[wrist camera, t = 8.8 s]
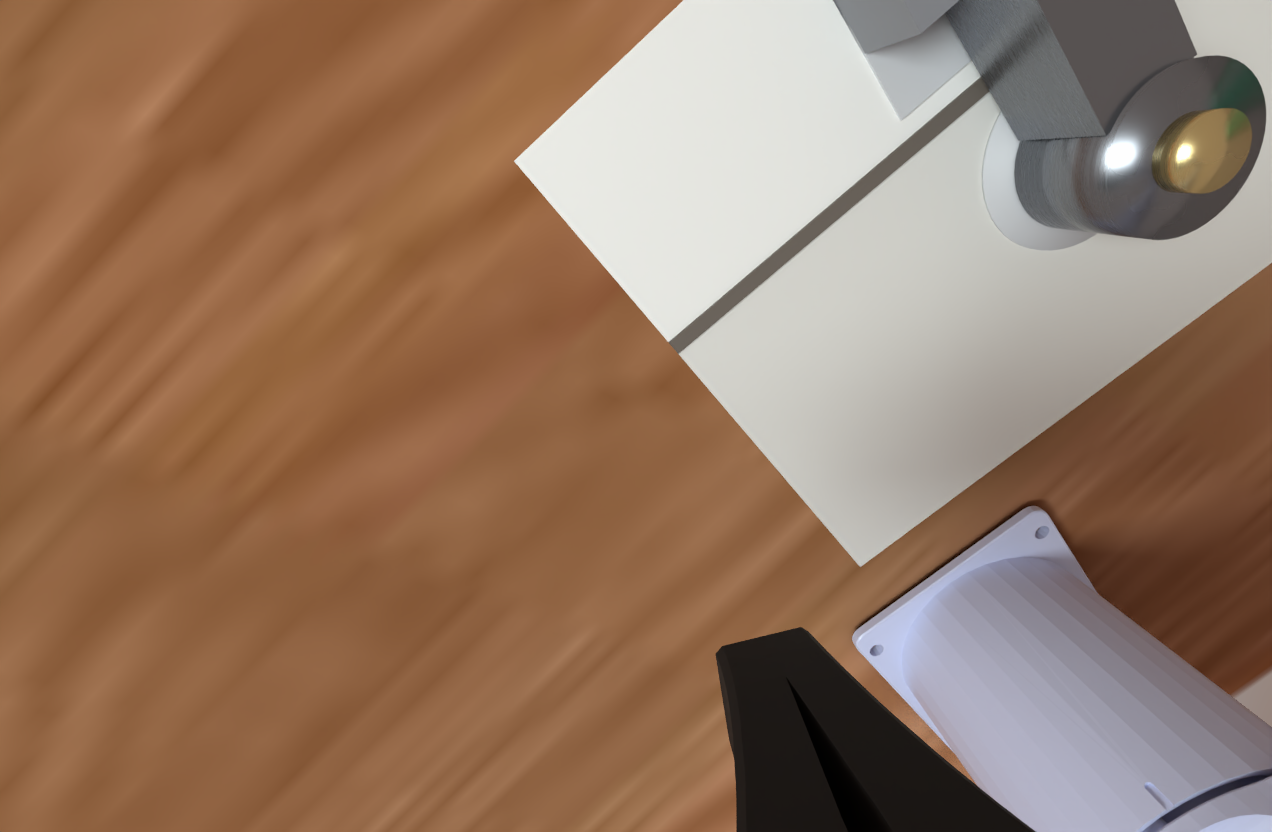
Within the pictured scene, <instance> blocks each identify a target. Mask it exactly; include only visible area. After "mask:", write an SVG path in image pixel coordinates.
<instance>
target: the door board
mask: <svg viewBox="0 0 1272 832" xmlns="http://www.w3.org/2000/svg"><path fill="white" fill-rule="evenodd" d="M958 1H959V0H683V1H682V2H681V3H680V4H679V5H678V6H677V7H676V8H675V9H674V10H673V11H672V12H671V13H670V14H669V15H668V16H667V17H666V18H664V19H663V20H662V21H661V22H660V23H659V24H658V25H657V26H656V27H655V28H654V29H653V30H652V31H651V32H650V33H649V34H648V35H647V36H645V37H644V38H643V39H642V40H641V41H640V42H639V43H638V44H637V45H636V46H635V47H634V48H633V49H632V50H631V51H630V52H629V53H628V54H627V55H625V56H624V57H623V58H622V59H621V60H620V61H619V62H618V63H617V64H616V65H615V66H614V67H613V68H612V69H611V70H610V71H609V72H608V73H606V74H605V75H604V76H603V77H602V78H601V79H600V80H599V81H598V82H597V83H596V84H595V85H594V86H593V87H592V88H591V89H590V90H589V91H587V92H586V93H585V94H584V95H583V96H582V97H581V98H580V99H579V100H578V101H577V102H576V103H575V104H574V105H573V106H572V107H571V108H570V109H569V110H567V111H566V112H565V113H564V114H563V115H562V116H561V117H560V118H559V119H558V120H557V121H556V122H555V123H554V124H553V125H552V126H551V127H550V128H548V129H547V130H546V131H545V132H544V133H543V134H542V135H541V136H540V137H539V138H538V139H537V140H536V141H535V142H534V143H533V144H532V145H531V146H529V147H528V148H527V149H526V150H525V151H524V152H523V153H522V154H521V155H520V156H519V157H518V158H517V159H516V160H515V161H514V162H515V163H516V164H517V165H518V166H519V167H520V169H521V170H522V171H523V172H524V173H525V174H526V176H527V177H528V178H529V179H530V180H531V181H532V183H533V184H534V185H535V186H536V187H537V188H538V190H539V191H540V192H541V193H542V194H543V196H544V197H545V198H546V199H547V200H548V201H549V203H550V204H551V205H552V206H553V207H554V208H555V210H556V211H557V212H558V213H559V214H560V215H561V217H562V218H563V219H564V220H565V221H566V222H567V224H568V225H569V226H570V227H571V228H572V230H573V231H574V232H575V233H576V234H577V235H578V237H579V238H580V239H581V240H582V241H583V242H584V244H585V245H586V246H587V247H588V248H589V249H590V251H591V252H592V253H593V254H594V255H595V257H596V258H597V259H598V260H599V261H600V262H601V264H602V265H603V266H604V267H605V268H606V269H607V271H608V272H609V273H610V274H611V275H612V276H613V278H614V279H615V280H616V281H617V282H618V283H619V285H620V286H621V287H622V288H623V289H624V291H625V292H626V293H627V294H628V295H629V296H630V298H631V299H632V300H633V301H634V302H635V303H636V305H637V306H638V307H639V308H640V309H641V310H642V312H643V313H644V314H645V315H646V316H647V317H648V319H649V320H650V321H651V322H652V323H653V325H654V326H655V327H656V328H657V329H658V330H659V332H660V333H661V334H662V335H663V336H664V337H665V339H666V340H667V341H668V342H669V343H670V345H671V346H672V347H673V348H674V349H675V350H676V352H677V353H678V354H679V355H680V356H681V357H682V359H683V360H684V361H685V362H686V363H687V364H688V366H689V367H690V368H691V369H692V370H693V371H694V373H695V374H696V375H697V376H698V377H699V378H700V380H701V381H702V382H703V383H704V384H705V386H706V387H707V388H708V389H709V390H710V391H711V393H712V394H713V395H714V396H715V397H716V398H717V400H718V401H719V402H720V403H721V404H722V405H723V407H724V408H725V409H726V410H727V411H728V412H729V414H730V415H731V416H732V417H733V418H734V420H735V421H736V422H737V423H738V424H739V425H740V427H741V428H742V429H743V430H744V431H745V432H746V434H747V435H748V436H749V437H750V438H751V439H752V441H753V442H754V443H755V444H756V445H757V447H758V448H759V449H760V450H761V451H762V452H763V454H764V455H765V456H766V457H767V458H768V459H769V461H770V462H771V463H772V464H773V465H774V466H775V468H776V469H777V470H778V471H779V472H780V473H781V475H782V476H783V477H784V478H785V479H786V481H787V482H788V483H789V484H790V485H791V486H792V488H793V489H794V490H795V491H796V492H797V493H798V495H799V496H800V497H801V498H802V499H803V500H804V502H805V503H806V504H807V505H808V506H809V507H810V509H811V510H812V511H813V512H814V513H815V515H816V516H817V517H818V518H819V519H820V520H821V522H822V523H823V524H824V525H825V526H826V527H827V529H828V530H829V531H830V532H831V533H832V534H833V536H834V537H835V538H836V539H837V540H838V542H839V543H840V544H841V545H842V546H843V547H844V549H845V550H846V551H847V552H848V553H849V554H850V556H851V557H852V558H853V559H854V560H855V561H856V563H857V564H858V565H859V566H860V567H861V566H862V565H864V564H865V563H866V562H868V561H869V560H870V559H872V558H873V557H874V556H876V555H877V554H879V553H880V552H881V551H883V550H884V549H885V548H887V547H888V546H889V545H891V544H892V543H893V542H895V541H896V540H897V539H899V538H900V537H901V536H903V535H904V534H906V533H907V532H908V531H910V530H911V529H912V528H914V527H915V526H916V525H918V524H919V523H920V522H922V521H923V520H924V519H926V518H927V517H929V516H930V515H931V514H933V513H934V512H935V511H937V510H938V509H939V508H941V507H942V506H943V505H945V504H946V503H947V502H949V501H950V500H952V499H953V498H954V497H956V496H957V495H958V494H960V493H961V492H962V491H964V490H965V489H966V488H968V487H969V486H970V485H972V484H973V483H974V482H976V481H977V480H979V479H980V478H981V477H983V476H984V475H985V474H987V473H988V472H989V471H991V470H992V469H993V468H995V467H996V466H997V465H999V464H1000V463H1002V462H1003V461H1004V460H1006V459H1007V458H1008V457H1010V456H1011V455H1012V454H1014V453H1015V452H1016V451H1018V450H1019V449H1020V448H1022V447H1023V446H1025V445H1026V444H1027V443H1029V442H1030V441H1031V440H1033V439H1034V438H1035V437H1037V436H1038V435H1039V434H1041V433H1042V432H1043V431H1045V430H1046V429H1047V428H1049V427H1050V426H1052V425H1053V424H1054V423H1056V422H1057V421H1058V420H1060V419H1061V418H1062V417H1064V416H1065V415H1066V414H1068V413H1069V412H1070V411H1072V410H1073V409H1075V408H1076V407H1077V406H1079V405H1080V404H1081V403H1083V402H1084V401H1085V400H1087V399H1088V398H1089V397H1091V396H1092V395H1093V394H1095V393H1096V392H1098V391H1099V390H1100V389H1102V388H1103V387H1104V386H1106V385H1107V384H1108V383H1110V382H1111V381H1112V380H1114V379H1115V378H1116V377H1118V376H1119V375H1120V374H1122V373H1123V372H1125V371H1126V370H1127V369H1129V368H1130V367H1131V366H1133V365H1134V364H1135V363H1137V362H1138V361H1139V360H1141V359H1142V358H1143V357H1145V356H1146V355H1148V354H1149V353H1150V352H1152V351H1153V350H1154V349H1156V348H1157V347H1158V346H1160V345H1161V344H1162V343H1164V342H1165V341H1166V340H1168V339H1169V338H1171V337H1172V336H1173V335H1175V334H1176V333H1177V332H1179V331H1180V330H1181V329H1183V328H1184V327H1185V326H1187V325H1188V324H1189V323H1191V322H1192V321H1193V320H1195V319H1196V318H1198V317H1199V316H1200V315H1202V314H1203V313H1204V312H1206V311H1207V310H1208V309H1210V308H1211V307H1212V306H1214V305H1215V304H1216V303H1218V302H1219V301H1221V300H1222V299H1223V298H1225V297H1226V296H1227V295H1229V294H1230V293H1231V292H1233V291H1234V290H1235V289H1237V288H1238V287H1239V286H1241V285H1242V284H1244V283H1245V282H1246V281H1248V280H1249V279H1250V278H1252V277H1253V276H1254V275H1256V274H1257V273H1258V272H1260V271H1261V270H1262V269H1264V268H1265V267H1266V266H1268V265H1269V264H1271V263H1272V0H1175V2H1176V4H1177V7H1178V9H1179V12H1180V14H1181V16H1182V19H1183V21H1184V24H1185V26H1186V28H1187V31H1188V33H1189V35H1190V38H1191V40H1192V43H1193V45H1194V47H1195V50H1196V52H1197V55H1196V56H1195V57H1194V58H1197V57H1203V56H1215V55H1219V56H1226V57H1230V58H1233V59H1236V60H1238V61H1240V62H1241V63H1243V64H1245V65H1246V66H1247V67H1248V68H1249V69H1250V70H1251V71H1252V72H1253V73H1254V75H1255V76H1256V77H1257V79H1258V81H1259V83H1260V85H1261V87H1262V90H1263V94H1264V97H1265V103H1266V127H1265V134H1264V139H1263V143H1262V147H1261V150H1260V153H1259V156H1258V158H1257V160H1256V163H1255V165H1254V167H1253V169H1252V171H1251V173H1250V175H1249V177H1248V179H1247V180H1246V182H1245V183H1244V185H1243V186H1242V188H1241V189H1240V191H1239V192H1238V193H1237V195H1236V196H1235V197H1234V199H1233V200H1232V201H1231V202H1230V203H1229V204H1228V205H1227V206H1226V207H1225V208H1224V209H1223V210H1222V211H1221V212H1220V213H1219V214H1218V215H1217V216H1216V217H1214V218H1213V219H1212V220H1210V221H1209V222H1208V223H1206V224H1205V225H1203V226H1202V227H1200V228H1198V229H1197V230H1195V231H1192V232H1190V233H1188V234H1186V235H1183V236H1180V237H1177V238H1173V239H1168V240H1150V239H1142V238H1133V237H1125V236H1116V235H1108V234H1099V233H1091V232H1082V231H1074V230H1065V229H1057V228H1051V227H1047V226H1044V225H1042V224H1040V223H1038V222H1037V221H1035V220H1034V219H1032V218H1031V217H1030V216H1029V215H1028V214H1027V212H1026V211H1025V210H1024V208H1023V207H1022V205H1021V203H1020V201H1019V198H1018V195H1017V192H1016V187H1015V177H1014V170H1015V160H1016V154H1017V150H1018V147H1019V143H1020V141H1021V140H1020V141H1018V139H1017V138H1016V136H1015V134H1014V132H1013V131H1012V129H1011V127H1010V126H1009V124H1008V122H1007V120H1006V119H1005V117H1004V115H1003V113H1002V112H1001V110H1000V108H999V106H998V105H997V103H996V101H995V100H994V98H993V96H992V94H991V93H990V91H989V89H988V87H987V86H986V84H985V82H984V81H983V79H982V77H981V75H980V74H979V72H978V70H977V68H976V67H975V65H974V63H973V62H972V60H971V58H970V56H969V55H968V53H967V51H966V49H965V48H964V46H963V44H962V42H961V41H960V39H959V37H958V36H957V34H956V32H955V30H954V29H953V27H952V25H951V23H950V22H949V20H948V18H947V17H946V15H945V12H947V11H948V10H949V9H950V8H951V7H952V6H953V5H955V4H956V3H957V2H958Z"/></svg>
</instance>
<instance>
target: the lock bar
mask: <svg viewBox="0 0 1272 832" xmlns="http://www.w3.org/2000/svg"><path fill="white" fill-rule="evenodd" d="M945 15H946V17H947V18H948V20H949V22H950V23H951V25H952V27H953V29H954V30H955V32H956V34H957V36H958V37H959V39H960V41H961V42H962V44H963V46H964V48H965V49H966V51H967V53H968V55H969V56H970V58H971V60H972V62H973V63H974V65H975V67H976V68H977V70H978V72H979V74H980V75H981V77H982V79H983V81H984V82H985V84H986V86H987V87H988V89H989V91H990V93H991V94H992V96H993V98H994V100H995V101H996V103H997V105H998V106H999V108H1000V110H1001V112H1002V113H1003V115H1004V117H1005V119H1006V120H1007V122H1008V124H1009V126H1010V127H1011V129H1012V131H1013V132H1014V134H1015V136H1016V138H1017V139H1018V141H1020V140H1021V141H1020V143H1019V147H1018V150H1017V154H1016V160H1015V170H1014V177H1015V187H1016V192H1017V195H1018V198H1019V201H1020V203H1021V205H1022V207H1023V208H1024V210H1025V211H1026V212H1027V214H1028V215H1029V216H1030V217H1031V218H1032V219H1034V220H1035V221H1037V222H1038V223H1040V224H1042V225H1044V226H1047V227H1051V228H1057V229H1065V230H1074V231H1082V232H1091V233H1099V234H1108V235H1116V236H1125V237H1133V238H1142V239H1150V240H1168V239H1173V238H1177V237H1180V236H1183V235H1186V234H1188V233H1190V232H1192V231H1195V230H1197V229H1198V228H1200V227H1202V226H1203V225H1205V224H1206V223H1208V222H1209V221H1210V220H1212V219H1213V218H1214V217H1216V216H1217V215H1218V214H1219V213H1220V212H1221V211H1222V210H1223V209H1224V208H1225V207H1226V206H1227V205H1228V204H1229V203H1230V202H1231V201H1232V200H1233V199H1234V197H1235V196H1236V195H1237V193H1238V192H1239V191H1240V189H1241V188H1242V186H1243V185H1244V183H1245V182H1246V180H1247V179H1248V177H1249V175H1250V173H1251V171H1252V169H1253V167H1254V165H1255V163H1256V160H1257V158H1258V156H1259V153H1260V150H1261V147H1262V143H1263V139H1264V134H1265V127H1266V103H1265V97H1264V94H1263V90H1262V87H1261V85H1260V83H1259V81H1258V79H1257V77H1256V76H1255V75H1254V73H1253V72H1252V71H1251V70H1250V69H1249V68H1248V67H1247V66H1246V65H1245V64H1243V63H1241V62H1240V61H1238V60H1236V59H1233V58H1230V57H1226V56H1219V55H1215V56H1203V57H1197V58H1194V57H1195V56H1196V55H1197V52H1196V50H1195V47H1194V45H1193V43H1192V40H1191V38H1190V35H1189V33H1188V31H1187V28H1186V26H1185V24H1184V21H1183V19H1182V16H1181V14H1180V12H1179V9H1178V7H1177V4H1176V2H1175V0H959V1H958V2H957V3H956V4H955V5H953V6H952V7H951V8H950V9H949V10H948V11H947V12H945Z"/></svg>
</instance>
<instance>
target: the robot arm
mask: <svg viewBox="0 0 1272 832" xmlns="http://www.w3.org/2000/svg"><path fill="white" fill-rule="evenodd" d="M1038 528H1039V529H1038ZM1037 529H1038V530H1037ZM1036 530H1037V531H1036ZM852 641H853V643H854V645H855V646H856V648H857V649H858V651H859V652H860V653H861V654H862V655H863V656H864V657H865V658H866V659H867V660H868V661H869V662H870V663H871V664H872V666H873V667H874V668H875V669H876V670H877V671H878V672H879V673H880V674H881V675H882V676H883V677H884V678H885V679H886V681H887V682H888V683H889V684H890V685H891V686H892V687H893V688H894V689H895V690H896V691H897V692H898V693H899V694H900V696H901V697H902V698H903V699H904V700H905V701H906V702H907V703H908V704H909V705H910V706H911V707H912V708H913V709H914V711H915V712H916V713H917V714H918V715H919V716H920V717H921V718H922V719H923V720H924V721H925V722H926V723H927V724H928V726H929V727H930V728H931V729H932V730H933V731H934V732H935V733H936V734H937V735H938V736H939V737H940V738H941V739H942V740H943V742H944V743H945V744H946V745H947V746H948V747H949V748H950V749H951V750H952V751H953V752H954V753H955V755H956V756H957V757H958V759H959V760H960V762H961V763H962V765H963V766H964V767H965V769H966V770H967V772H968V773H969V774H970V776H971V777H972V779H973V780H974V782H975V783H976V784H977V785H975V784H974V783H973V782H972V781H971V780H969V779H968V778H967V777H966V776H964V775H963V774H962V773H961V772H959V771H958V770H957V769H956V768H955V767H953V766H952V765H951V764H950V763H949V762H947V761H946V760H945V759H944V758H943V757H941V756H940V755H939V754H938V753H937V752H935V751H934V750H933V749H932V748H931V747H930V746H928V745H927V744H926V743H925V742H924V741H923V740H922V739H921V738H919V737H918V736H917V735H916V734H915V733H914V732H913V731H911V730H910V729H909V728H908V727H907V726H906V725H905V724H903V723H902V722H901V721H900V720H899V719H898V718H897V717H896V716H894V715H893V714H892V713H891V712H890V711H889V710H888V709H887V708H886V707H884V706H883V705H882V704H881V703H880V702H879V701H878V700H877V699H876V698H875V697H874V696H873V695H871V694H870V693H869V692H868V691H867V690H866V689H865V688H864V687H863V686H862V685H861V684H860V683H859V682H858V681H857V680H856V679H855V678H854V677H853V676H852V675H850V674H849V673H848V672H847V671H846V670H845V669H844V668H843V667H842V666H841V665H840V664H839V663H838V662H837V661H836V660H835V659H834V658H833V657H832V656H831V655H830V654H829V653H828V652H827V651H826V650H825V649H824V647H823V646H822V645H821V644H820V643H819V642H818V641H817V640H816V639H815V638H814V637H813V636H812V635H811V634H810V633H809V632H808V631H806V630H805V629H803V628H802V627H799V628H795V629H791V630H787V631H783V632H779V633H775V634H771V635H766V636H762V637H758V638H754V639H750V640H746V641H742V642H737V643H733V644H729V645H725V646H722V647H721V648H720V649H719V651H718V652H717V653H716V660H717V666H718V672H719V678H720V685H721V691H722V697H723V704H724V710H725V716H726V722H727V729H728V735H729V741H730V744H731V748H732V752H733V755H734V761H735V776H736V798H737V832H1272V727H1271V726H1269V725H1268V724H1267V723H1265V722H1264V721H1263V720H1262V719H1260V718H1259V717H1258V716H1256V715H1255V714H1254V713H1252V712H1251V711H1250V710H1249V709H1247V708H1246V707H1245V706H1243V705H1242V704H1241V703H1239V702H1238V701H1237V700H1235V699H1234V698H1233V697H1232V696H1230V695H1229V694H1228V693H1226V692H1225V691H1224V690H1222V689H1221V688H1220V687H1219V686H1217V685H1216V684H1215V683H1213V682H1212V681H1211V680H1209V679H1208V678H1207V677H1206V676H1204V675H1203V674H1202V673H1200V672H1199V671H1198V670H1196V669H1195V668H1194V667H1193V666H1191V665H1190V664H1189V663H1187V662H1186V661H1185V660H1183V659H1182V658H1181V657H1179V656H1178V655H1177V654H1176V653H1174V652H1173V651H1172V650H1170V649H1169V648H1168V647H1166V646H1165V645H1164V644H1163V643H1161V642H1160V641H1159V640H1157V639H1156V638H1155V637H1153V636H1152V635H1151V634H1150V633H1148V632H1147V631H1146V630H1144V629H1143V628H1142V627H1140V626H1139V625H1138V624H1136V623H1135V622H1134V621H1133V620H1131V619H1130V618H1129V617H1127V616H1126V615H1125V614H1123V613H1122V612H1121V611H1120V610H1118V609H1117V608H1116V607H1114V606H1113V605H1112V604H1110V603H1109V602H1108V601H1107V600H1105V599H1104V598H1103V597H1101V596H1100V595H1099V594H1098V593H1097V592H1096V590H1095V588H1094V587H1093V585H1092V584H1091V582H1090V580H1089V579H1088V577H1087V576H1086V574H1085V572H1084V571H1083V569H1082V568H1081V566H1080V565H1079V563H1078V561H1077V560H1076V558H1075V557H1074V555H1073V553H1072V552H1071V550H1070V549H1069V547H1068V545H1067V544H1066V542H1065V541H1064V539H1063V537H1062V536H1061V534H1060V533H1059V531H1058V529H1057V528H1056V526H1055V525H1054V523H1053V521H1052V520H1051V518H1050V517H1049V515H1048V514H1047V513H1046V512H1045V511H1044V510H1042V509H1041V508H1039V507H1037V506H1029V507H1026V508H1025V509H1023V510H1021V511H1020V512H1019V513H1017V514H1016V515H1014V516H1013V517H1012V518H1010V519H1009V520H1007V521H1006V522H1005V523H1003V524H1002V525H1001V526H999V527H998V528H996V529H995V530H994V531H992V532H991V533H989V534H988V535H987V536H985V537H984V538H983V539H981V540H980V541H978V542H977V543H976V544H974V545H973V546H972V547H970V548H969V549H967V550H966V551H965V552H963V553H962V554H960V555H959V556H958V557H956V558H955V559H954V560H952V561H951V562H949V563H948V564H947V565H945V566H944V567H942V568H941V569H940V570H938V571H937V572H936V573H934V574H933V575H931V576H930V577H929V578H927V579H926V580H924V581H923V582H922V583H920V584H919V585H918V586H916V587H915V588H913V589H912V590H911V591H909V592H908V593H906V594H905V595H904V596H902V597H901V598H900V599H898V600H897V601H895V602H894V603H893V604H891V605H890V606H888V607H887V608H886V609H884V610H883V611H882V612H880V613H879V614H877V615H876V616H875V617H873V618H872V619H870V620H869V621H868V622H866V623H865V624H864V625H862V626H861V627H859V628H858V629H857V630H856V631H855V632H854V634H853V636H852ZM875 645H876V646H875ZM873 646H875V647H873ZM872 647H873V648H872Z"/></svg>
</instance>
